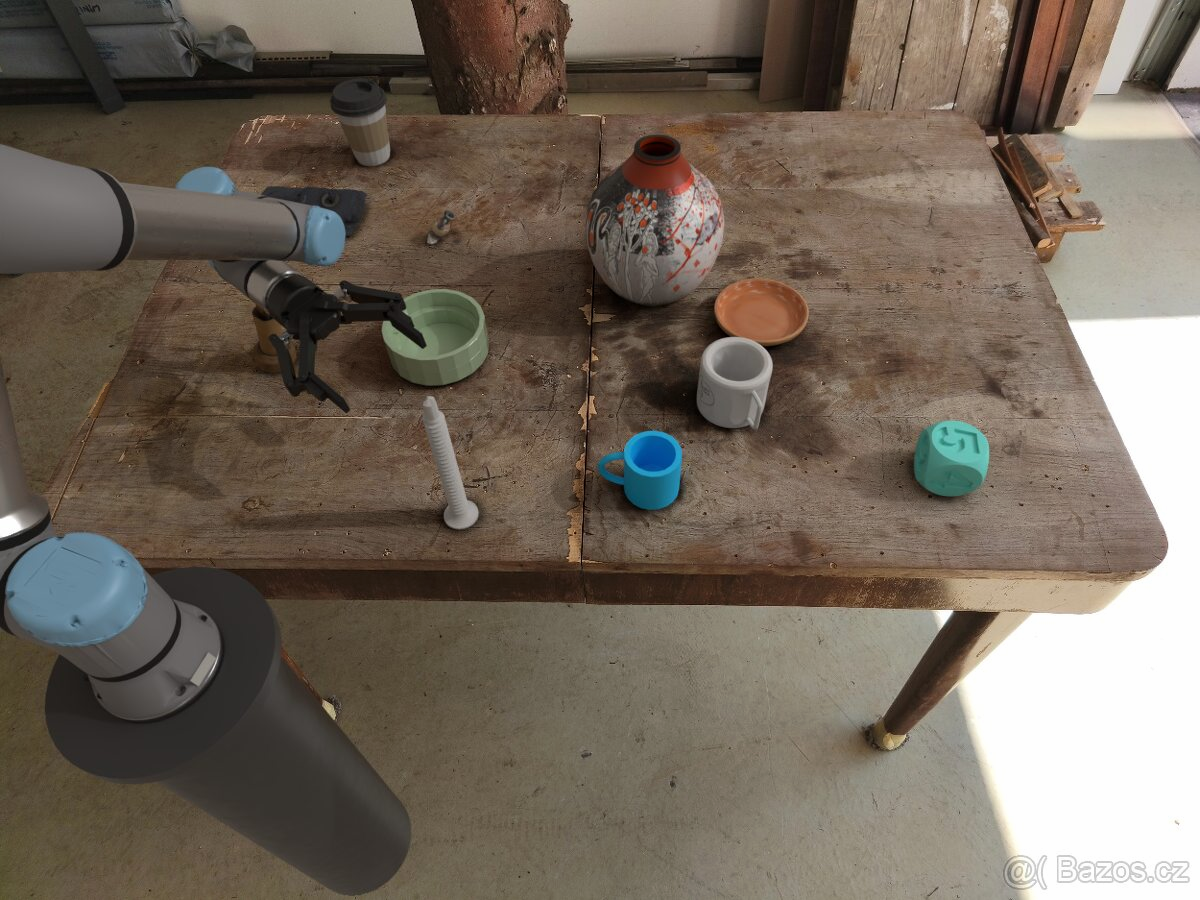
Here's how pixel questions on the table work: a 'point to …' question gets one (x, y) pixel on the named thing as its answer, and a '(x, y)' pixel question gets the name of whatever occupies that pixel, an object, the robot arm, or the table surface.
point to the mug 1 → (648, 469)
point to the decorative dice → (951, 458)
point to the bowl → (439, 338)
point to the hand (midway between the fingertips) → (384, 373)
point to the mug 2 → (734, 382)
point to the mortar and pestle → (267, 341)
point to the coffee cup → (363, 119)
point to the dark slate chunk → (326, 201)
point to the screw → (447, 468)
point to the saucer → (761, 311)
